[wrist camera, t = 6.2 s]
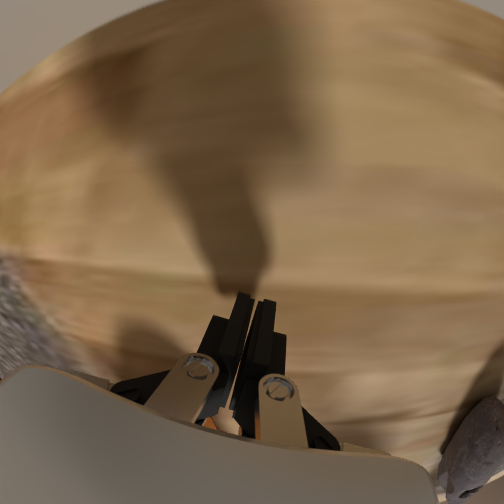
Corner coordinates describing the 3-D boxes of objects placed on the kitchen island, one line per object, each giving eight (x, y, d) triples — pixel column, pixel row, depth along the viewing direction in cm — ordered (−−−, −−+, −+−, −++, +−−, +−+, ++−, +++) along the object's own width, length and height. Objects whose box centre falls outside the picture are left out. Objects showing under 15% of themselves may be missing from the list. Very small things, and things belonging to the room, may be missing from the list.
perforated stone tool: (462, 390, 15) (492, 459, 8) (510, 368, 13) (544, 426, 7) (425, 467, 19) (435, 515, 13) (464, 452, 18) (477, 496, 12)
